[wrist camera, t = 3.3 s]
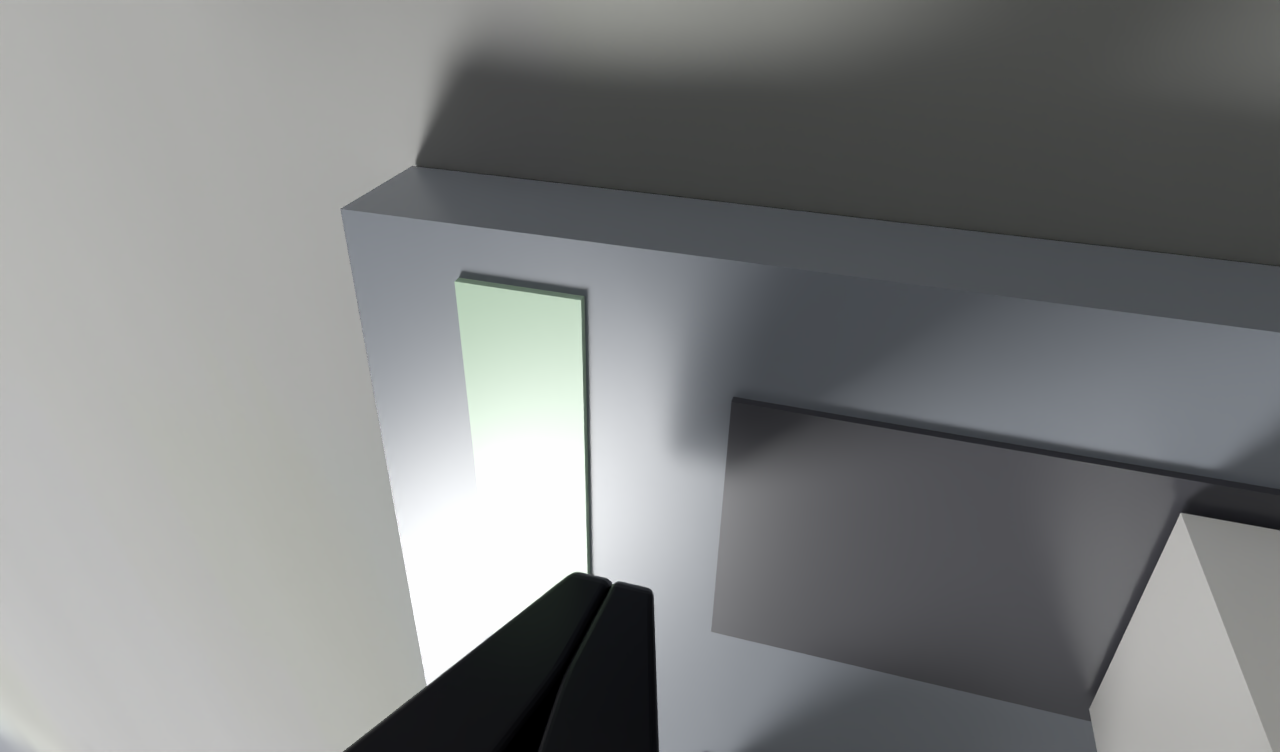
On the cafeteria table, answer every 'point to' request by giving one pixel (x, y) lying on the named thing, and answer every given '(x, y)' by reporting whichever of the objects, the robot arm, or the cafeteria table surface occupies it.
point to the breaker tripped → (1199, 648)
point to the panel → (806, 447)
